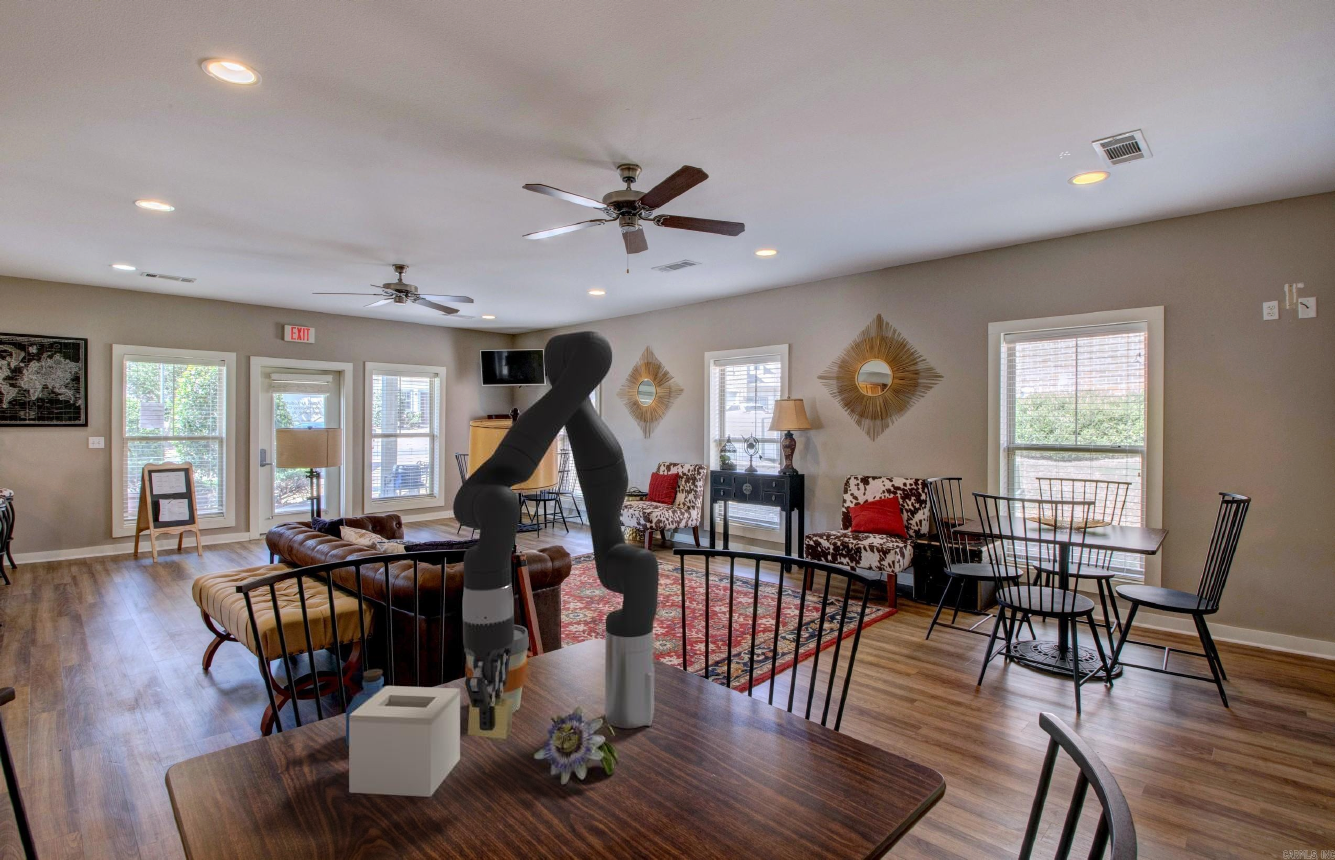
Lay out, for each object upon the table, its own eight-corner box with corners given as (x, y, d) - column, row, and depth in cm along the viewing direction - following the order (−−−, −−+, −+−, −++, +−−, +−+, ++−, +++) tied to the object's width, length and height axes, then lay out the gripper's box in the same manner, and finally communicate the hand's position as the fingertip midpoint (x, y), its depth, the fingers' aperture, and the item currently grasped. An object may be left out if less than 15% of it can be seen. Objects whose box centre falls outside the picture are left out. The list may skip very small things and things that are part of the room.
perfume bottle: (377, 748, 111) (377, 680, 111) (346, 745, 113) (346, 677, 113) (398, 732, 117) (398, 667, 117) (369, 728, 119) (369, 664, 119)
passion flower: (565, 816, 101) (520, 759, 100) (581, 767, 112) (540, 715, 111) (622, 784, 99) (576, 726, 98) (632, 737, 110) (591, 684, 108)
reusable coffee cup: (501, 689, 136) (501, 619, 136) (542, 704, 129) (542, 631, 129) (450, 710, 126) (451, 635, 126) (492, 728, 119) (492, 648, 119)
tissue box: (459, 758, 108) (460, 688, 108) (430, 796, 97) (430, 718, 97) (386, 755, 109) (386, 685, 109) (349, 792, 98) (349, 714, 98)
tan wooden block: (511, 730, 99) (513, 699, 99) (506, 738, 97) (508, 706, 96) (474, 726, 100) (476, 694, 99) (467, 734, 97) (469, 702, 97)
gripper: (496, 629, 90) (499, 749, 91) (525, 600, 104) (527, 704, 105) (445, 628, 91) (448, 747, 91) (481, 599, 105) (483, 703, 105)
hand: (490, 724), depth 98 cm, fingers closed on tan wooden block, 2 cm apart
